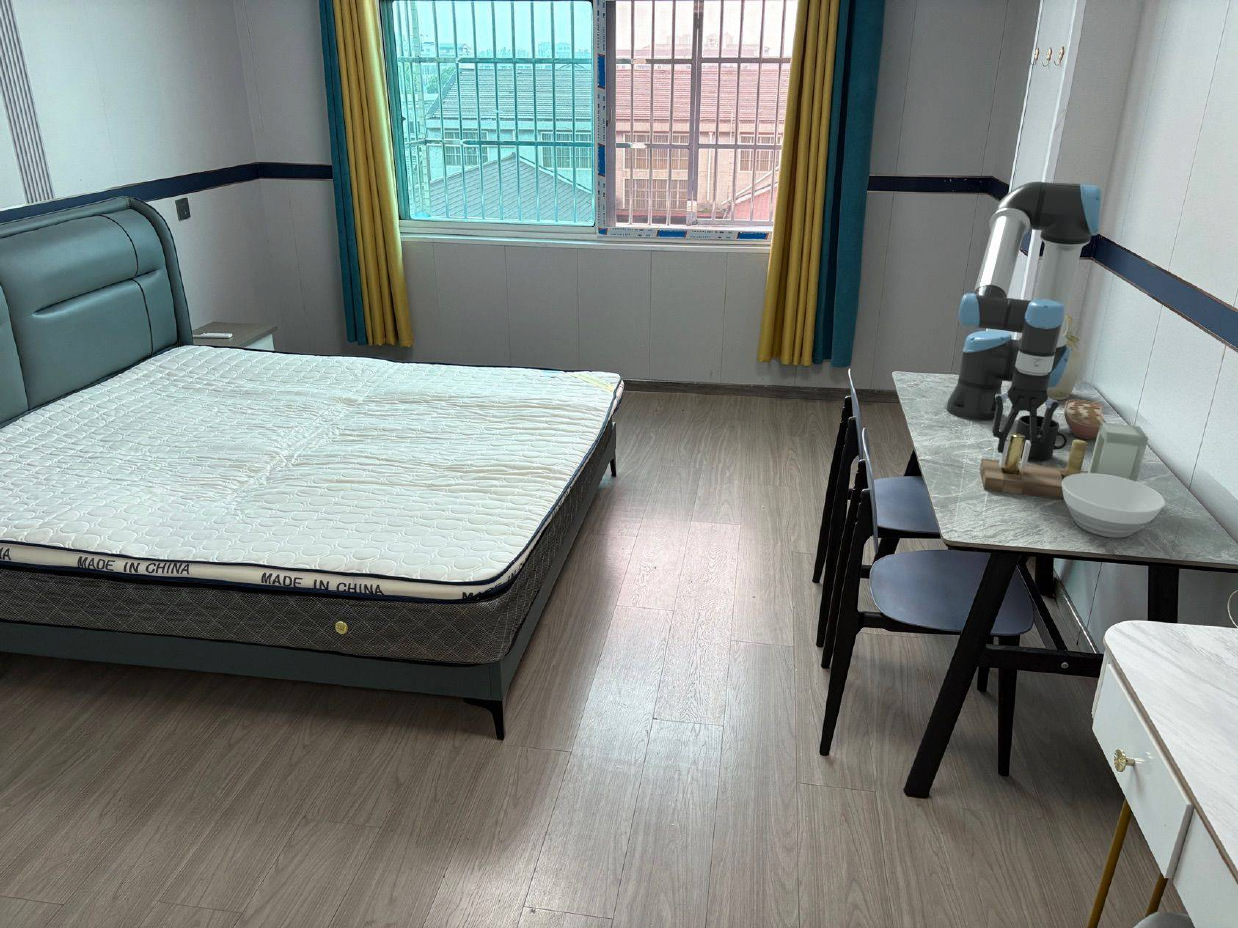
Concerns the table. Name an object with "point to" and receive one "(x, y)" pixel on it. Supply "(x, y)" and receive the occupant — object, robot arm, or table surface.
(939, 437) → the table surface
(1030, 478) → the wooden slotted block
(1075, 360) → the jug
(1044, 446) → the mug
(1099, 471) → the housing
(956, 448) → the table surface
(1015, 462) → the pin
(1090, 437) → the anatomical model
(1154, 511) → the bowl
